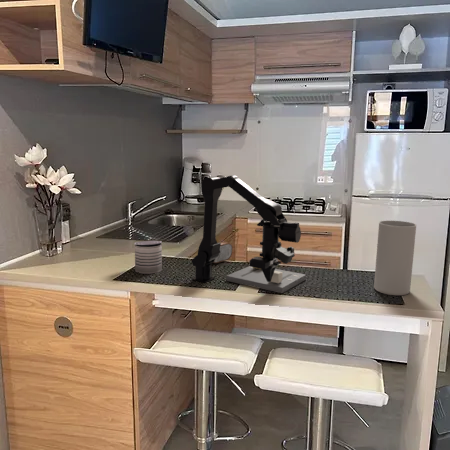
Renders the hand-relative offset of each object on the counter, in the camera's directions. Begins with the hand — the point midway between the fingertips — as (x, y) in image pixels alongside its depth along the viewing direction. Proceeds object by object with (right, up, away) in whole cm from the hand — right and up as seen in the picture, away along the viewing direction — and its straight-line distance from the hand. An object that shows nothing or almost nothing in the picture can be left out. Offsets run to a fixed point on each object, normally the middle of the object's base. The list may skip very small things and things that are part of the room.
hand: (268, 281), depth 166 cm
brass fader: (-2, +3, +22) cm, 22 cm away
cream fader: (+3, 0, +4) cm, 5 cm away
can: (-47, +2, +25) cm, 53 cm away
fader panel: (0, -1, +13) cm, 14 cm away
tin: (-18, +4, +40) cm, 44 cm away
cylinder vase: (+45, -4, +4) cm, 46 cm away
